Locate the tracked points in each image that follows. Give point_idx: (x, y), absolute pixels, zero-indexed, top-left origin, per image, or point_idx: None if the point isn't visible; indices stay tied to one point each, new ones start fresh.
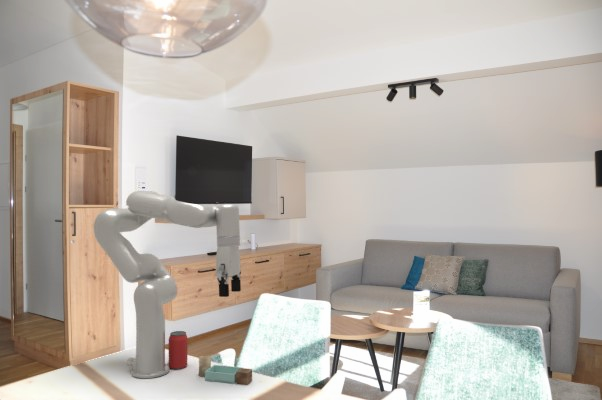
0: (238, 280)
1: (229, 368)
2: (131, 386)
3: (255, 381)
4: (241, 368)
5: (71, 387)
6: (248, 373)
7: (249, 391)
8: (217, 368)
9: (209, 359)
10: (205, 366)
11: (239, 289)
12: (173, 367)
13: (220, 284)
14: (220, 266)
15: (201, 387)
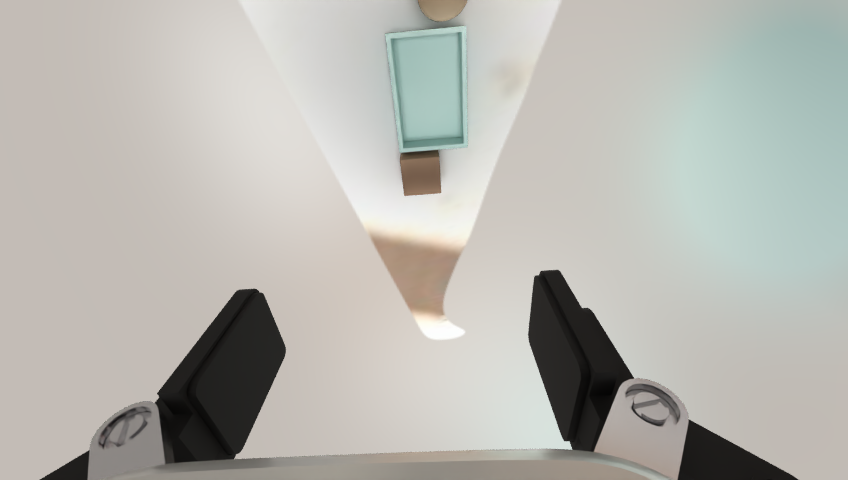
0: (564, 435)
1: (462, 97)
2: None
3: None
4: (435, 160)
5: None
6: (411, 193)
7: (371, 202)
8: (460, 45)
9: (437, 20)
10: (421, 9)
11: (532, 350)
12: None
13: (147, 419)
14: None
15: (333, 58)
